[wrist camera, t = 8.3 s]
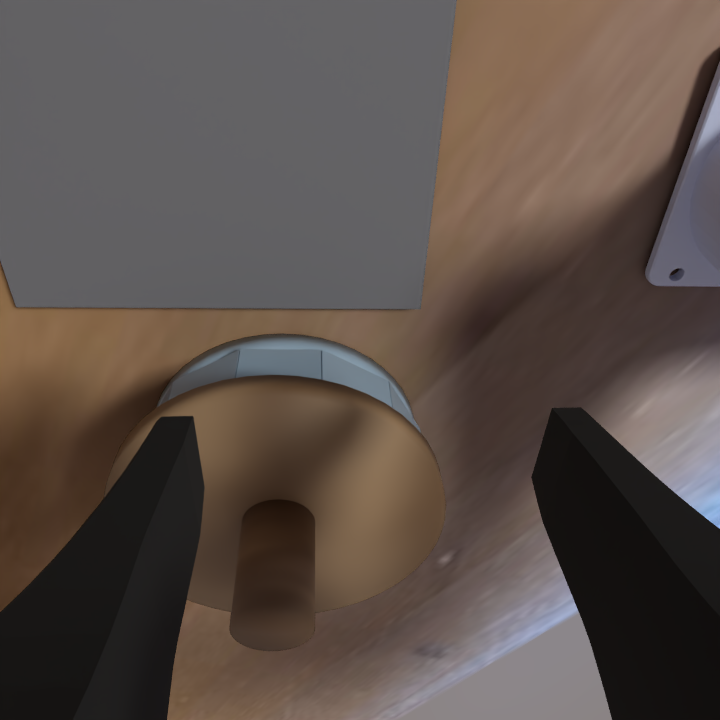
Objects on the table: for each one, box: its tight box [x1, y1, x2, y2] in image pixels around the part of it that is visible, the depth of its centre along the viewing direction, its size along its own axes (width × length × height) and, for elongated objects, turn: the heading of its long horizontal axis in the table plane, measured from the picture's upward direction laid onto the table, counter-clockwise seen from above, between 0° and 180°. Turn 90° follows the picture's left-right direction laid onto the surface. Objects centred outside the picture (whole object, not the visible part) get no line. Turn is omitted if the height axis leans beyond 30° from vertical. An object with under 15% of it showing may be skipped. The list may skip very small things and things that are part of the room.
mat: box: [0, 0, 457, 309], centre depth 18 cm, size 14×14×1 cm
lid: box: [104, 375, 446, 651], centre depth 21 cm, size 12×12×5 cm
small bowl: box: [156, 334, 421, 433], centre depth 25 cm, size 11×11×4 cm
